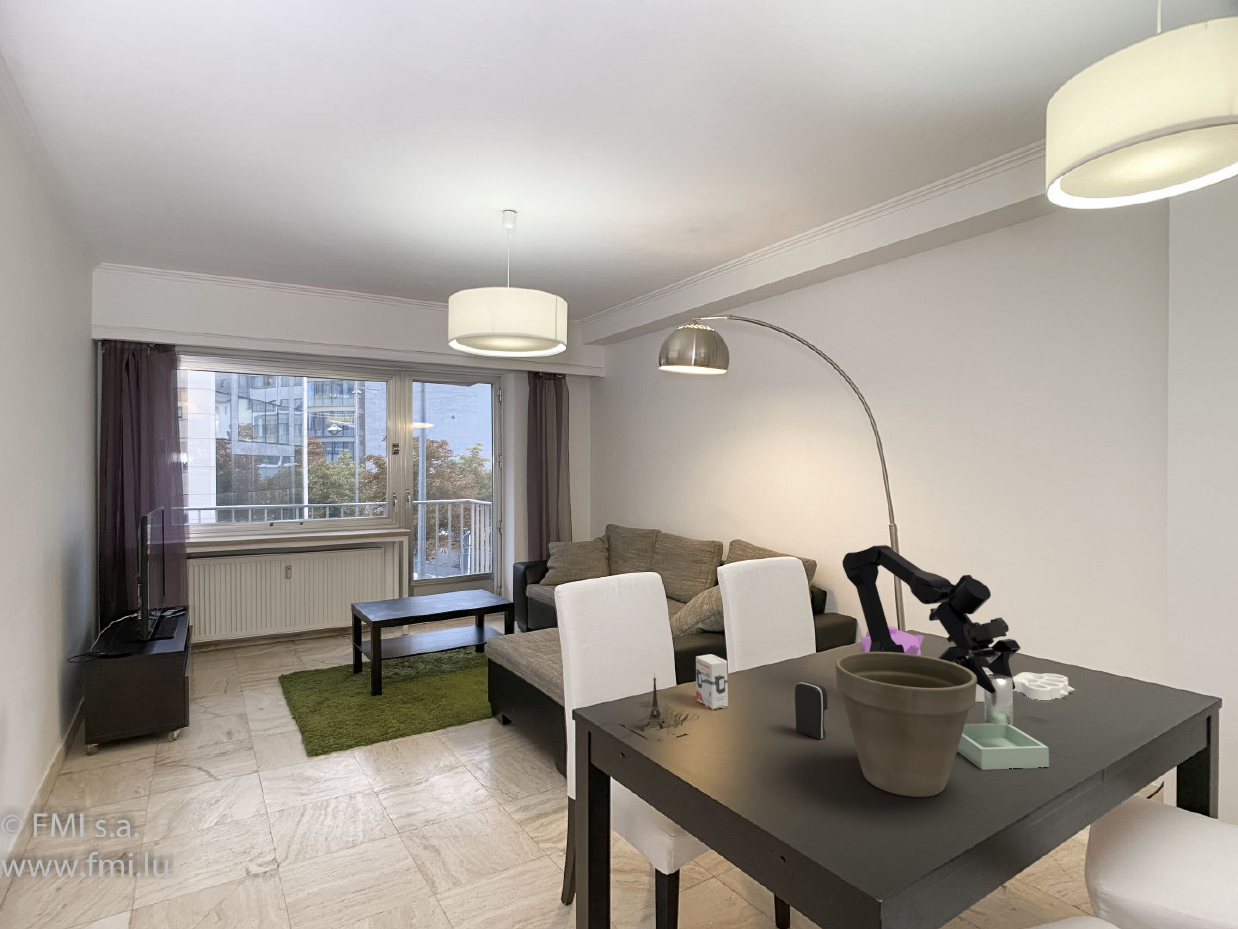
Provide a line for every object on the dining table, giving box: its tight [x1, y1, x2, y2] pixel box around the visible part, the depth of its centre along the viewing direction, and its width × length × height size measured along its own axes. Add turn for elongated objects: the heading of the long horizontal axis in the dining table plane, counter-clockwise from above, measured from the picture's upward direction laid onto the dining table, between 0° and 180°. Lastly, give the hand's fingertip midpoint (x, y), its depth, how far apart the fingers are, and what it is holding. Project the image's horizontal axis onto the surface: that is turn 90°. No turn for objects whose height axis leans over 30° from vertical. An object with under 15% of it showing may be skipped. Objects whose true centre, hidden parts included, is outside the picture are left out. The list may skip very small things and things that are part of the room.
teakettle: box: [860, 626, 925, 656], centre depth 209 cm, size 17×17×12 cm
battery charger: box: [794, 681, 829, 740], centre depth 157 cm, size 7×4×11 cm, turn 38°
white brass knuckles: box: [1012, 671, 1076, 701], centre depth 186 cm, size 3×18×15 cm
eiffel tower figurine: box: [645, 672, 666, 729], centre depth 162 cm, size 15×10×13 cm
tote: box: [957, 722, 1050, 771], centre depth 144 cm, size 14×14×4 cm
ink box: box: [695, 654, 729, 708], centre depth 178 cm, size 8×5×12 cm, turn 23°
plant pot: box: [835, 651, 977, 798], centre depth 133 cm, size 25×25×22 cm
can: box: [983, 674, 1014, 726], centre depth 145 cm, size 5×5×9 cm
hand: (1003, 691), depth 144 cm, fingers closed on can, 5 cm apart
